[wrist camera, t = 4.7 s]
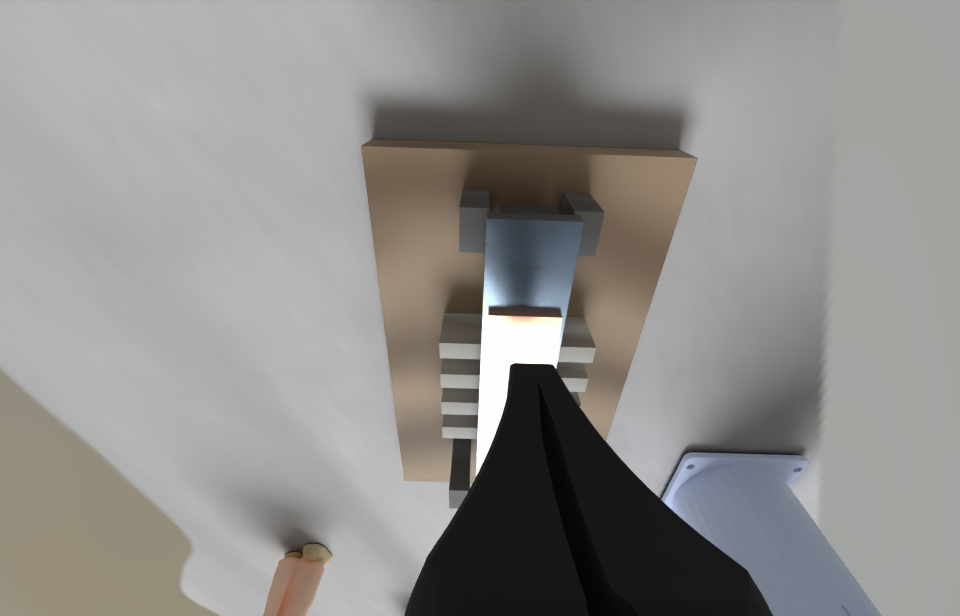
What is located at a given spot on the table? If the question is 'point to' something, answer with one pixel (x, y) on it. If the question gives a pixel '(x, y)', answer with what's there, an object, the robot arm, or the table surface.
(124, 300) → the table surface
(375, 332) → the table surface
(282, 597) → the grandmother figurine
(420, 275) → the base
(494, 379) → the bar
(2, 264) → the table surface
